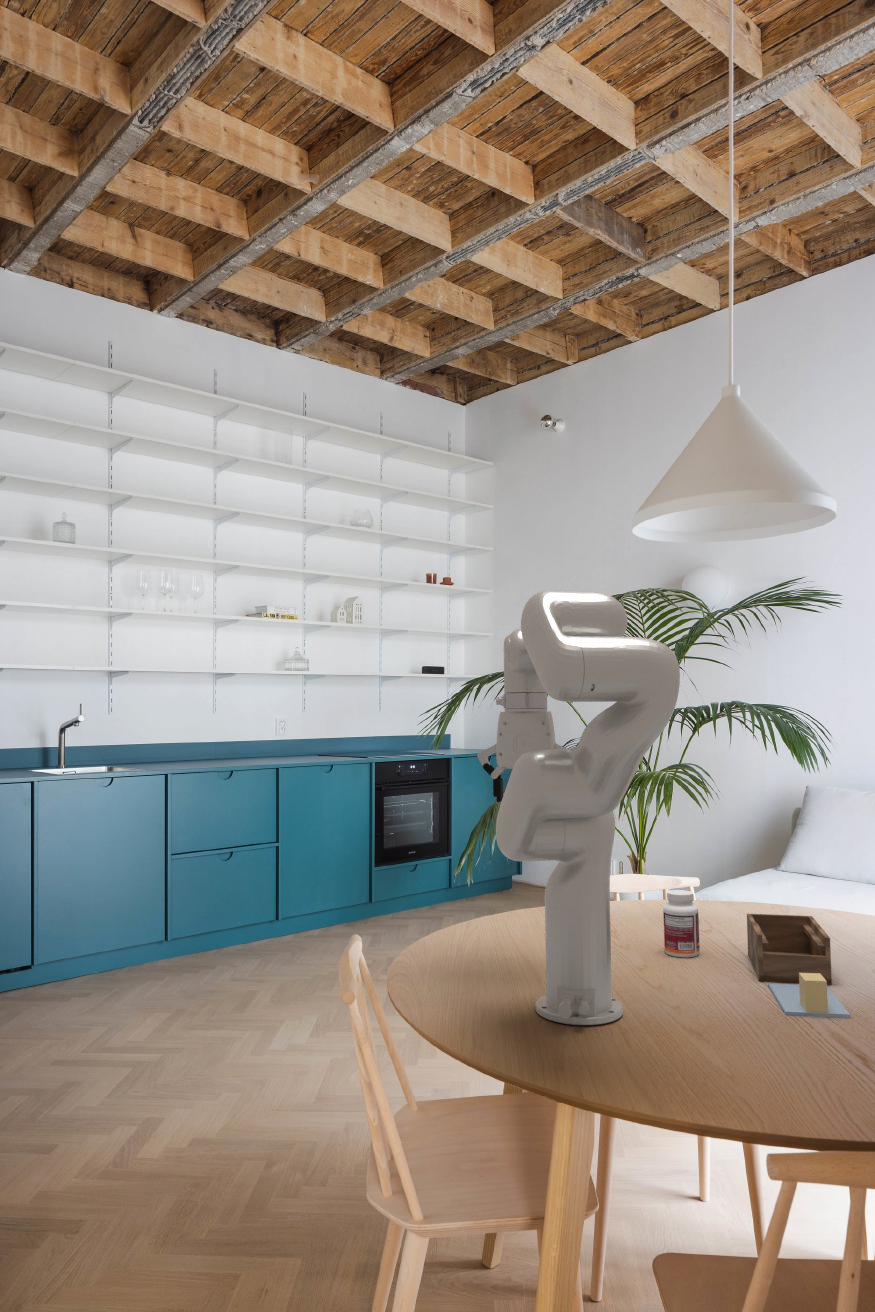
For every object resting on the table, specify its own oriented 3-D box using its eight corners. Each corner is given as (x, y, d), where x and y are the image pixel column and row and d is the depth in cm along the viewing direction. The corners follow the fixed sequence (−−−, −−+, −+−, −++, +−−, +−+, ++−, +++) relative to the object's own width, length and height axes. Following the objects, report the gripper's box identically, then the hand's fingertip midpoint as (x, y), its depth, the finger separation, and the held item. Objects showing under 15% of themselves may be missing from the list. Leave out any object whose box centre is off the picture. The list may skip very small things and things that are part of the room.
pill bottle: (678, 947, 168) (676, 887, 169) (706, 954, 163) (705, 892, 164) (657, 953, 164) (655, 892, 165) (686, 960, 159) (684, 897, 160)
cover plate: (850, 1021, 129) (848, 983, 129) (785, 1018, 130) (784, 980, 131) (827, 992, 142) (825, 957, 143) (768, 990, 144) (767, 955, 144)
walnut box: (831, 985, 144) (830, 938, 145) (759, 981, 147) (757, 935, 147) (813, 958, 160) (811, 916, 160) (748, 955, 162) (746, 913, 163)
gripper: (473, 703, 157) (474, 803, 156) (573, 702, 153) (575, 804, 152) (481, 704, 164) (482, 799, 163) (576, 703, 161) (578, 800, 159)
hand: (527, 801), depth 158 cm, fingers open, 9 cm apart
